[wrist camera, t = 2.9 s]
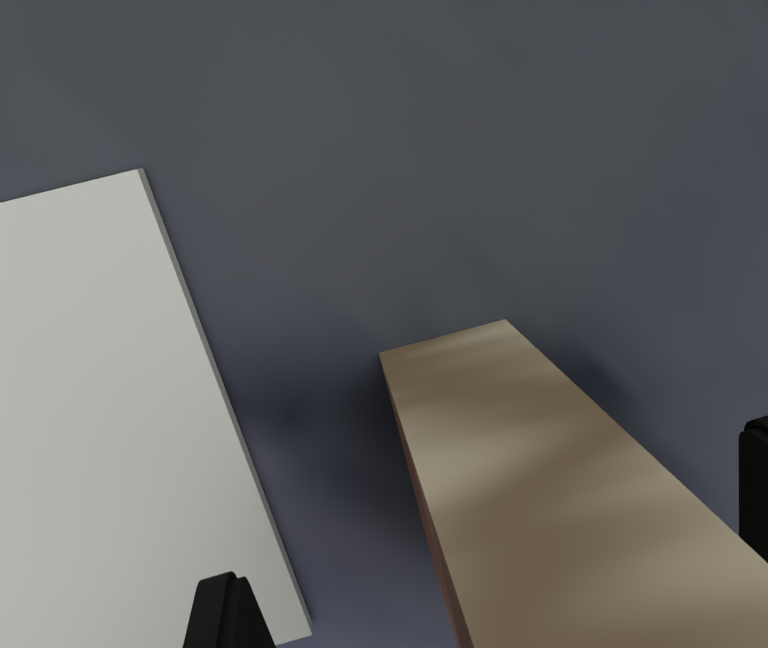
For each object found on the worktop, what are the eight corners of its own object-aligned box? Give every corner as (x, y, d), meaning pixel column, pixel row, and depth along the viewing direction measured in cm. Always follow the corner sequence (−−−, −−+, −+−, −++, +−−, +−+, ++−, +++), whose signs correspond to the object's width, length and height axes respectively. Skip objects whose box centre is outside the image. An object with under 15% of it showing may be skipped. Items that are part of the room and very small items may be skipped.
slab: (505, 319, 13) (1076, 849, 3) (539, 524, 15) (946, 1213, 5) (378, 352, 12) (590, 1007, 3) (430, 556, 15) (653, 1319, 5)
